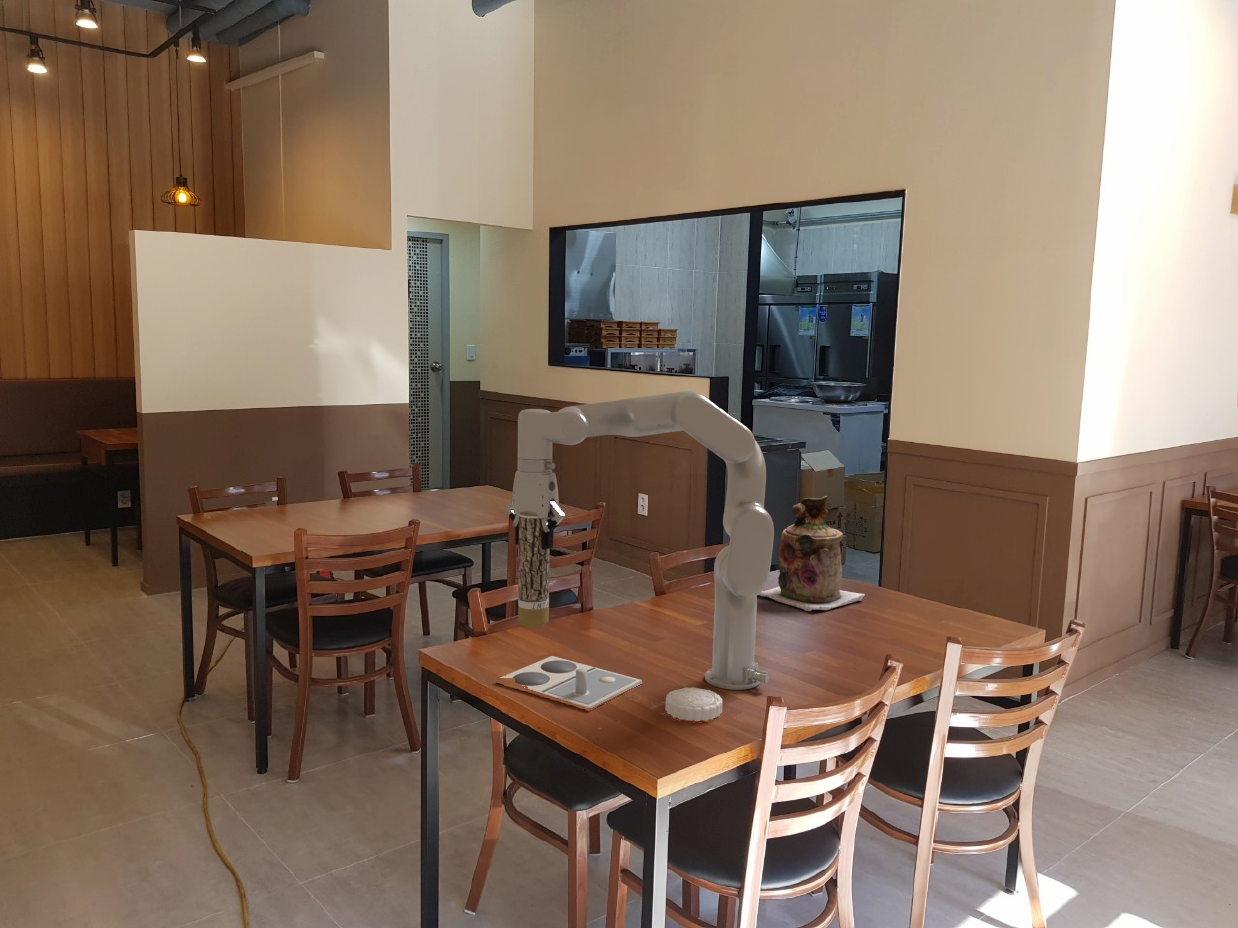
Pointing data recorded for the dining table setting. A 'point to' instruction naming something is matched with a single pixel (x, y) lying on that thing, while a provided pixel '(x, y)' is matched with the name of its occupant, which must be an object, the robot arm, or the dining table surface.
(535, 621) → the paper tube
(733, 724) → the dining table surface
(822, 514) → the cookie jar
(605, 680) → the board
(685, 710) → the mooncake
